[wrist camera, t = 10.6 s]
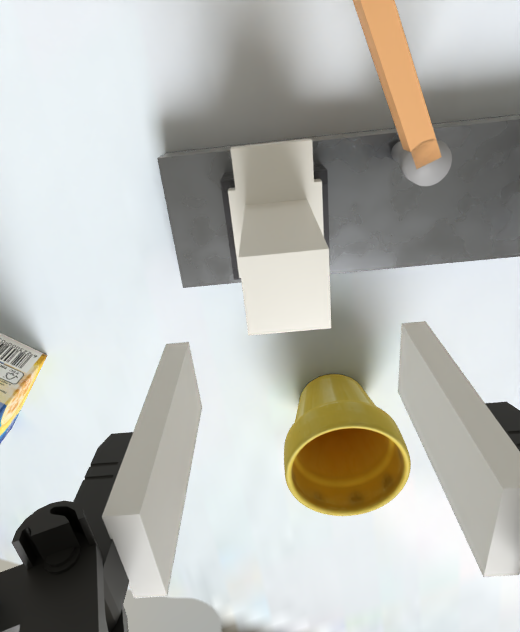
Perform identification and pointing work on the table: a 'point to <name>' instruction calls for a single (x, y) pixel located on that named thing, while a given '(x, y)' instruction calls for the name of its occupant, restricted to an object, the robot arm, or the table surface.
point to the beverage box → (15, 378)
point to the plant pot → (343, 450)
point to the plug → (280, 237)
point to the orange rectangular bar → (403, 94)
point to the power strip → (364, 202)
